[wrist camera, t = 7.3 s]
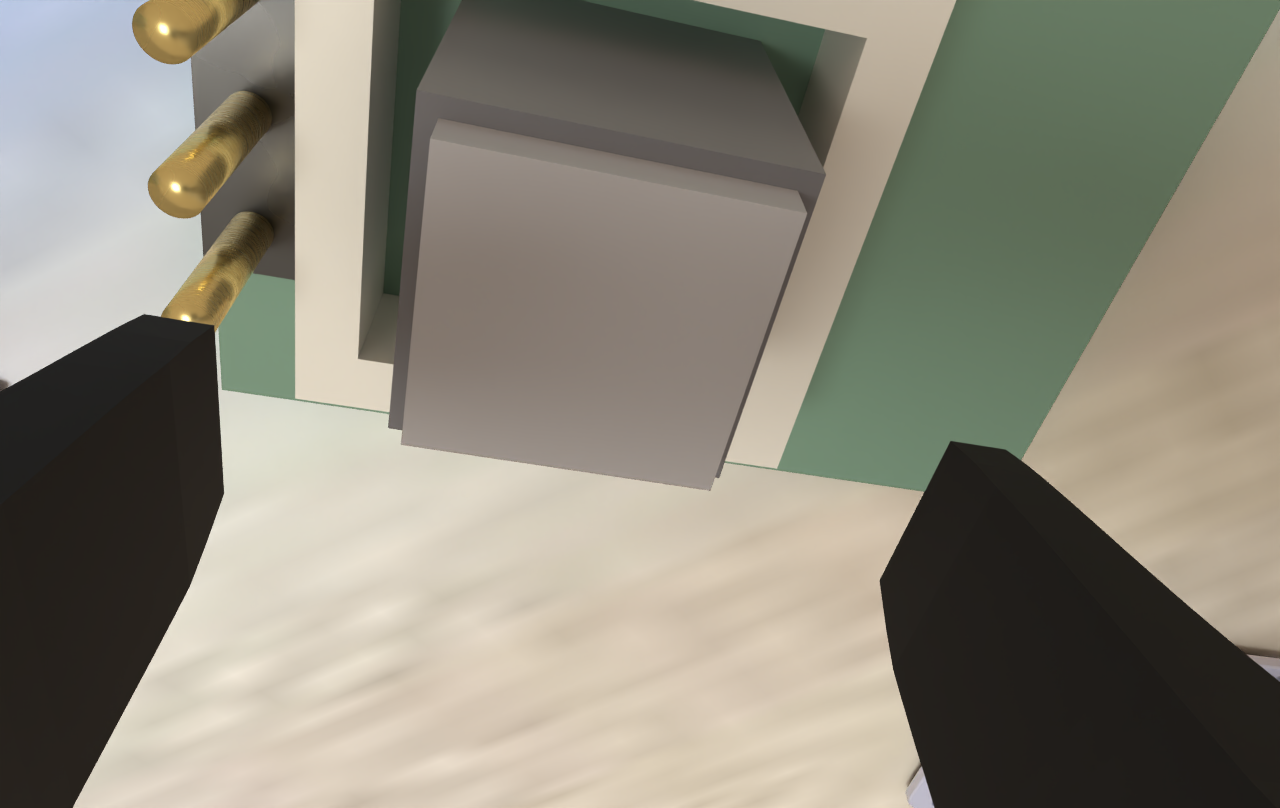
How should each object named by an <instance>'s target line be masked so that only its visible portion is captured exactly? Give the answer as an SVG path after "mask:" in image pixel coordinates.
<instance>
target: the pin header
mask: <svg viewBox="0 0 1280 808" xmlns="http://www.w3.org/2000/svg"><path fill="white" fill-rule="evenodd" d="M132 28H133V33H134V36H135V38H136V40H137V42H138V44H139V45H140V47H141V48H142V49H143V50H144V51H145V52H146V53H147V54H148V55H149V56H151V57H152V58H154V59H155V60H157V61H160V62H162V63H166V64H179V63H182V62H185V61H186V60H188V59H189V58H190V57H191V68H192V83H193V99H194V115H195V131H194V132H193V133H192V134H191V135H190V136H189V137H188V138H187V139H186V140H185V141H184V142H183V143H182V144H181V145H180V146H179V147H178V148H177V149H176V150H175V151H174V152H173V153H172V154H171V155H170V156H169V157H168V158H167V159H166V160H165V161H164V162H163V163H162V164H161V165H160V166H159V167H158V168H157V169H156V170H155V171H154V172H153V174H152V175H151V176H150V178H149V181H148V191H149V194H150V197H151V199H152V200H153V202H154V203H155V205H156V206H157V207H158V208H159V209H161V210H162V211H163V212H165V213H167V214H168V215H171V216H173V217H177V218H191V217H194V216H196V215H198V214H199V213H200V212H201V224H202V240H203V256H204V257H203V259H202V260H201V261H200V263H199V264H198V265H197V267H196V268H195V269H194V271H193V272H192V273H191V275H190V276H189V277H188V279H187V280H186V281H185V283H184V284H183V285H182V287H181V288H180V289H179V291H178V292H177V294H176V295H175V296H174V298H173V299H172V300H171V302H170V303H169V304H168V306H167V307H166V308H165V310H164V311H163V313H162V315H161V317H165V318H171V319H177V320H184V321H190V322H196V323H203V324H209V325H214V329H215V331H216V330H217V328H218V327H219V325H220V324H221V322H222V320H223V319H224V317H225V316H226V314H227V313H228V311H229V309H230V308H231V306H232V305H233V303H234V301H235V300H236V298H237V297H238V295H239V294H240V292H241V290H242V289H243V287H244V286H245V284H246V283H247V281H248V279H249V278H250V276H251V275H252V273H253V274H260V275H266V276H272V277H278V278H284V279H290V280H295V0H149V1H148V2H146V3H144V4H143V5H141V6H140V7H139V8H138V9H137V10H136V12H135V14H134V16H133V21H132Z"/></svg>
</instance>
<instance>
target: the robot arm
mask: <svg viewBox="0 0 1280 808" xmlns="http://www.w3.org/2000/svg"><path fill="white" fill-rule="evenodd" d="M223 495H224V485H223V468H222V450H221V433H220V416H219V398H218V381H217V364H216V346H215V329H214V325H209V324H203V323H196V322H190V321H184V320H177V319H171V318H165V317H158V316H152V315H145V314H144V315H142V316H140V317H138V318H135V319H133V320H131V321H129V322H127V323H125V324H123V325H121V326H119V327H117V328H116V329H114V330H112V331H110V332H108V333H106V334H104V335H102V336H101V337H99V338H97V339H95V340H93V341H92V342H90V343H88V344H86V345H84V346H82V347H81V348H79V349H77V350H75V351H73V352H72V353H70V354H68V355H66V356H64V357H63V358H61V359H59V360H57V361H55V362H54V363H52V364H50V365H48V366H46V367H45V368H43V369H41V370H39V371H37V372H36V373H34V374H32V375H30V376H28V377H27V378H25V379H23V380H21V381H19V382H17V383H16V384H14V385H12V386H10V387H8V388H6V389H4V390H3V391H1V392H0V808H73V806H74V804H75V802H76V800H77V798H78V796H79V794H80V793H81V791H82V789H83V787H84V785H85V783H86V781H87V779H88V778H89V776H90V774H91V772H92V770H93V768H94V766H95V764H96V763H97V761H98V759H99V757H100V755H101V753H102V751H103V750H104V748H105V746H106V744H107V742H108V740H109V738H110V736H111V735H112V733H113V731H114V729H115V727H116V725H117V723H118V721H119V720H120V718H121V716H122V714H123V712H124V710H125V708H126V706H127V705H128V703H129V701H130V699H131V697H132V695H133V693H134V692H135V690H136V688H137V686H138V684H139V682H140V680H141V678H142V677H143V675H144V673H145V671H146V669H147V667H148V665H149V663H150V662H151V660H152V658H153V656H154V654H155V652H156V650H157V648H158V646H159V644H160V643H161V641H162V639H163V637H164V635H165V633H166V631H167V629H168V627H169V625H170V624H171V622H172V620H173V618H174V616H175V614H176V612H177V610H178V608H179V606H180V604H181V602H182V600H183V598H184V597H185V595H186V593H187V591H188V589H189V587H190V584H191V582H192V579H193V577H194V574H195V571H196V569H197V566H198V564H199V561H200V558H201V556H202V553H203V551H204V548H205V545H206V543H207V540H208V537H209V534H210V531H211V529H212V526H213V523H214V520H215V517H216V515H217V512H218V509H219V506H220V503H221V501H222V498H223ZM880 586H881V594H882V601H883V609H884V616H885V623H886V630H887V636H888V642H889V648H890V653H891V659H892V665H893V670H894V674H895V677H896V681H897V685H898V688H899V692H900V695H901V699H902V702H903V705H904V709H905V712H906V715H907V719H908V722H909V726H910V729H911V732H912V736H913V739H914V743H915V746H916V749H917V752H918V756H919V759H920V762H921V767H920V769H919V771H918V772H917V774H916V775H915V777H914V778H913V780H912V781H911V783H910V784H909V786H908V787H907V789H906V796H907V799H908V802H909V805H911V806H912V807H914V808H1280V658H1272V657H1264V656H1256V655H1248V654H1245V653H1244V652H1243V651H1241V650H1240V649H1239V648H1238V647H1236V646H1235V645H1234V644H1233V643H1232V642H1230V641H1229V640H1228V639H1227V638H1226V637H1224V636H1223V635H1222V634H1221V633H1220V632H1218V631H1217V630H1216V629H1215V628H1214V627H1213V626H1211V625H1210V624H1209V623H1208V622H1207V621H1205V620H1204V619H1203V618H1202V617H1201V616H1200V615H1198V614H1197V613H1196V612H1195V611H1194V610H1192V609H1191V608H1190V607H1189V606H1188V605H1187V604H1186V603H1184V602H1183V601H1182V600H1181V599H1180V598H1179V597H1177V596H1176V595H1175V594H1174V593H1173V592H1172V591H1171V590H1169V589H1168V588H1167V587H1166V586H1165V585H1164V584H1163V583H1161V582H1160V581H1159V580H1158V579H1157V578H1156V577H1155V576H1154V575H1152V574H1151V573H1150V572H1149V571H1148V570H1147V569H1146V568H1144V567H1143V566H1142V565H1141V564H1140V563H1139V562H1138V561H1137V560H1135V559H1134V558H1133V557H1132V556H1131V555H1130V554H1129V553H1128V552H1126V551H1125V550H1124V549H1123V548H1122V547H1121V546H1120V545H1119V544H1117V543H1116V542H1115V541H1114V540H1113V539H1112V538H1111V537H1110V536H1108V535H1107V534H1106V533H1105V532H1104V531H1103V530H1102V529H1101V528H1099V527H1098V526H1097V525H1096V524H1095V523H1094V522H1093V521H1092V520H1090V519H1089V518H1088V517H1087V516H1086V515H1085V514H1084V513H1083V512H1081V511H1080V510H1079V509H1078V508H1077V507H1076V506H1075V505H1074V504H1072V503H1071V502H1070V501H1069V500H1068V499H1067V498H1066V497H1064V496H1063V495H1062V494H1061V493H1060V492H1059V491H1057V490H1056V489H1055V488H1054V487H1053V486H1052V485H1050V484H1049V483H1048V482H1047V481H1046V480H1045V479H1043V478H1042V477H1041V476H1040V475H1039V474H1037V473H1036V472H1035V471H1034V470H1032V469H1031V468H1030V467H1029V466H1027V465H1026V464H1025V463H1024V462H1022V461H1021V460H1020V459H1018V458H1017V457H1015V456H1014V455H1013V454H1011V453H1010V452H1009V451H1007V450H1006V449H1000V448H993V447H987V446H980V445H974V444H968V443H961V442H955V441H950V443H949V445H948V447H947V449H946V451H945V453H944V455H943V457H942V459H941V460H940V462H939V464H938V466H937V468H936V470H935V472H934V474H933V476H932V478H931V480H930V482H929V484H928V486H927V488H926V490H925V492H924V494H923V496H922V498H921V500H920V502H919V504H918V506H917V508H916V510H915V512H914V514H913V516H912V518H911V520H910V522H909V524H908V526H907V528H906V530H905V531H904V533H903V535H902V537H901V539H900V541H899V543H898V545H897V547H896V549H895V551H894V553H893V555H892V557H891V559H890V561H889V563H888V565H887V567H886V569H885V571H884V573H883V575H882V577H881V579H880Z"/></svg>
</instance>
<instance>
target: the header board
mask: <svg viewBox="0 0 1280 808" xmlns="http://www.w3.org/2000/svg"><path fill="white" fill-rule="evenodd" d="M461 1H462V0H401V6H400V23H399V39H398V56H397V73H396V89H395V106H394V122H393V139H392V155H391V172H390V189H389V205H388V222H387V238H386V255H385V272H384V288H383V293H385V294H391V295H397V296H399V293H400V281H401V269H402V257H403V246H404V234H405V222H406V210H407V198H408V186H409V174H410V162H411V150H412V138H413V127H414V115H415V103H416V91H417V88H418V86H419V84H420V82H421V80H422V78H423V76H424V74H425V72H426V70H427V68H428V66H429V64H430V62H431V60H432V58H433V56H434V54H435V52H436V50H437V48H438V46H439V45H440V43H441V41H442V39H443V37H444V35H445V33H446V31H447V29H448V27H449V25H450V23H451V21H452V19H453V17H454V15H455V13H456V11H457V9H458V7H459V5H460V3H461ZM582 1H586V2H591V3H595V4H599V5H604V6H608V7H613V8H617V9H621V10H626V11H630V12H635V13H639V14H644V15H648V16H652V17H657V18H661V19H666V20H670V21H674V22H679V23H683V24H688V25H692V26H697V27H701V28H705V29H710V30H714V31H719V32H723V33H727V34H732V35H736V36H741V37H745V38H750V39H754V40H758V41H761V43H762V45H763V47H764V49H765V51H766V53H767V55H768V57H769V59H770V61H771V64H772V66H773V68H774V70H775V72H776V74H777V76H778V78H779V80H780V82H781V84H782V86H783V88H784V90H785V92H786V94H787V96H788V98H789V100H790V102H791V104H792V106H793V108H794V110H795V112H796V114H797V116H798V115H799V112H800V109H801V106H802V102H803V99H804V96H805V93H806V90H807V86H808V83H809V80H810V77H811V74H812V70H813V67H814V64H815V61H816V58H817V54H818V51H819V48H820V45H821V41H822V38H823V35H824V32H825V29H822V28H818V27H813V26H809V25H804V24H800V23H795V22H790V21H786V20H781V19H777V18H772V17H768V16H763V15H758V14H754V13H749V12H745V11H740V10H736V9H731V8H726V7H722V6H717V5H713V4H708V3H704V2H699V1H694V0H582ZM1279 9H1280V0H956V3H955V5H954V8H953V10H952V13H951V16H950V18H949V21H948V23H947V26H946V29H945V31H944V34H943V37H942V39H941V42H940V44H939V47H938V50H937V52H936V55H935V57H934V60H933V63H932V65H931V68H930V70H929V73H928V76H927V78H926V81H925V84H924V86H923V89H922V91H921V94H920V97H919V99H918V102H917V104H916V107H915V110H914V112H913V115H912V117H911V120H910V123H909V125H908V128H907V131H906V133H905V136H904V138H903V141H902V144H901V146H900V149H899V151H898V154H897V157H896V159H895V162H894V164H893V167H892V170H891V172H890V175H889V178H888V180H887V183H886V185H885V188H884V191H883V193H882V196H881V198H880V201H879V204H878V206H877V209H876V211H875V214H874V217H873V219H872V222H871V225H870V227H869V230H868V232H867V235H866V238H865V240H864V243H863V245H862V248H861V251H860V253H859V256H858V259H857V261H856V264H855V266H854V269H853V272H852V274H851V277H850V279H849V282H848V285H847V287H846V290H845V292H844V295H843V298H842V300H841V303H840V306H839V308H838V311H837V313H836V316H835V319H834V321H833V324H832V326H831V329H830V332H829V334H828V337H827V339H826V342H825V345H824V347H823V350H822V353H821V355H820V358H819V360H818V363H817V366H816V368H815V371H814V373H813V376H812V379H811V381H810V384H809V386H808V389H807V392H806V394H805V397H804V400H803V402H802V405H801V407H800V410H799V413H798V415H797V418H796V420H795V423H794V426H793V428H792V431H791V433H790V436H789V439H788V441H787V444H786V447H785V449H784V452H783V454H782V457H781V460H780V462H779V465H778V467H777V469H776V468H769V467H762V466H755V465H748V464H742V463H735V462H728V461H725V463H731V464H737V465H744V466H751V467H758V468H765V469H772V470H779V471H786V472H793V473H799V474H806V475H813V476H820V477H827V478H834V479H841V480H848V481H855V482H861V483H868V484H875V485H882V486H889V487H896V488H903V489H910V490H917V491H923V492H925V490H926V488H927V486H928V484H929V482H930V480H931V478H932V476H933V474H934V472H935V470H936V468H937V466H938V464H939V462H940V460H941V459H942V457H943V455H944V453H945V451H946V449H947V447H948V445H949V443H950V441H955V442H961V443H968V444H974V445H980V446H987V447H993V448H1000V449H1006V450H1007V451H1009V452H1010V453H1011V454H1013V455H1014V456H1015V457H1017V458H1018V459H1020V460H1021V459H1022V457H1023V456H1024V454H1025V452H1026V451H1027V449H1028V447H1029V445H1030V444H1031V442H1032V440H1033V438H1034V437H1035V435H1036V433H1037V431H1038V430H1039V428H1040V426H1041V424H1042V423H1043V421H1044V419H1045V417H1046V416H1047V414H1048V412H1049V410H1050V409H1051V407H1052V405H1053V403H1054V402H1055V400H1056V398H1057V396H1058V395H1059V393H1060V391H1061V389H1062V388H1063V386H1064V384H1065V383H1066V381H1067V379H1068V377H1069V376H1070V374H1071V372H1072V370H1073V369H1074V367H1075V365H1076V363H1077V362H1078V360H1079V358H1080V356H1081V355H1082V353H1083V351H1084V349H1085V348H1086V346H1087V344H1088V342H1089V341H1090V339H1091V337H1092V335H1093V334H1094V332H1095V330H1096V328H1097V327H1098V325H1099V323H1100V322H1101V320H1102V318H1103V316H1104V315H1105V313H1106V311H1107V309H1108V308H1109V306H1110V304H1111V302H1112V301H1113V299H1114V297H1115V295H1116V294H1117V292H1118V290H1119V288H1120V287H1121V285H1122V283H1123V281H1124V280H1125V278H1126V276H1127V274H1128V273H1129V271H1130V269H1131V267H1132V266H1133V264H1134V262H1135V260H1136V259H1137V257H1138V255H1139V254H1140V252H1141V250H1142V248H1143V247H1144V245H1145V243H1146V241H1147V240H1148V238H1149V236H1150V234H1151V233H1152V231H1153V229H1154V227H1155V226H1156V224H1157V222H1158V220H1159V219H1160V217H1161V215H1162V213H1163V212H1164V210H1165V208H1166V206H1167V205H1168V203H1169V201H1170V199H1171V198H1172V196H1173V194H1174V192H1175V191H1176V189H1177V187H1178V186H1179V184H1180V182H1181V180H1182V179H1183V177H1184V175H1185V173H1186V172H1187V170H1188V168H1189V166H1190V165H1191V163H1192V161H1193V159H1194V158H1195V156H1196V154H1197V152H1198V151H1199V149H1200V147H1201V145H1202V144H1203V142H1204V140H1205V138H1206V137H1207V135H1208V133H1209V131H1210V130H1211V128H1212V126H1213V124H1214V123H1215V121H1216V119H1217V118H1218V116H1219V114H1220V112H1221V111H1222V109H1223V107H1224V105H1225V104H1226V102H1227V100H1228V98H1229V97H1230V95H1231V93H1232V91H1233V90H1234V88H1235V86H1236V84H1237V83H1238V81H1239V79H1240V77H1241V76H1242V74H1243V72H1244V70H1245V69H1246V67H1247V65H1248V63H1249V62H1250V60H1251V58H1252V57H1253V55H1254V53H1255V51H1256V50H1257V48H1258V46H1259V44H1260V43H1261V41H1262V39H1263V37H1264V36H1265V34H1266V32H1267V30H1268V29H1269V27H1270V25H1271V23H1272V22H1273V20H1274V18H1275V16H1276V15H1277V13H1278V11H1279ZM218 328H219V346H220V363H221V381H222V390H228V391H235V392H242V393H249V394H255V395H262V396H269V397H276V398H283V399H290V400H297V401H304V402H311V403H317V404H324V405H331V406H338V407H345V408H352V409H359V410H366V411H373V412H379V413H386V414H389V412H384V411H377V410H370V409H363V408H357V407H350V406H343V405H336V404H329V403H322V402H315V401H308V400H302V399H295V280H290V279H284V278H278V277H272V276H266V275H260V274H253V273H252V275H251V276H250V278H249V279H248V281H247V283H246V284H245V286H244V287H243V289H242V290H241V292H240V294H239V295H238V297H237V298H236V300H235V301H234V303H233V305H232V306H231V308H230V309H229V311H228V313H227V314H226V316H225V317H224V319H223V320H222V322H221V324H220V325H219V327H218Z"/></svg>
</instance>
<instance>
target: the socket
mask: <svg viewBox="0 0 1280 808" xmlns="http://www.w3.org/2000/svg"><path fill="white" fill-rule="evenodd" d="M694 1H699V2H704V3H708V4H713V5H717V6H722V7H726V8H731V9H736V10H740V11H745V12H749V13H754V14H758V15H763V16H768V17H772V18H777V19H781V20H786V21H790V22H795V23H800V24H804V25H809V26H813V27H818V28H822V29H825V32H824V35H823V38H822V41H821V45H820V48H819V51H818V54H817V58H816V61H815V64H814V67H813V70H812V74H811V77H810V80H809V83H808V86H807V90H806V93H805V96H804V99H803V102H802V106H801V109H800V112H799V115H798V118H799V120H800V122H801V124H802V126H803V128H804V130H805V132H806V134H807V136H808V138H809V140H810V142H811V145H812V147H813V149H814V151H815V153H816V155H817V157H818V159H819V161H820V163H821V165H822V167H823V169H824V171H825V173H826V177H825V179H824V182H823V185H822V188H821V191H820V194H819V196H818V199H817V202H816V205H815V208H814V211H813V213H812V216H811V219H810V222H809V225H808V228H807V230H806V233H805V236H804V239H803V242H802V245H801V247H800V250H799V253H798V256H797V259H796V262H795V264H794V267H793V270H792V273H791V276H790V279H789V281H788V284H787V287H786V290H785V293H784V296H783V298H782V301H781V304H780V307H779V310H778V312H777V315H776V318H775V321H774V324H773V327H772V329H771V332H770V335H769V338H768V341H767V344H766V346H765V349H764V352H763V355H762V358H761V361H760V363H759V366H758V369H757V372H756V375H755V378H754V380H753V383H752V386H751V389H750V392H749V395H748V397H747V400H746V403H745V406H744V409H743V412H742V414H741V417H740V420H739V423H738V426H737V429H736V431H735V434H734V437H733V440H732V443H731V446H730V448H729V451H728V454H727V457H726V460H725V461H728V462H735V463H742V464H748V465H755V466H762V467H769V468H776V469H777V467H778V465H779V462H780V460H781V457H782V454H783V452H784V449H785V447H786V444H787V441H788V439H789V436H790V433H791V431H792V428H793V426H794V423H795V420H796V418H797V415H798V413H799V410H800V407H801V405H802V402H803V400H804V397H805V394H806V392H807V389H808V386H809V384H810V381H811V379H812V376H813V373H814V371H815V368H816V366H817V363H818V360H819V358H820V355H821V353H822V350H823V347H824V345H825V342H826V339H827V337H828V334H829V332H830V329H831V326H832V324H833V321H834V319H835V316H836V313H837V311H838V308H839V306H840V303H841V300H842V298H843V295H844V292H845V290H846V287H847V285H848V282H849V279H850V277H851V274H852V272H853V269H854V266H855V264H856V261H857V259H858V256H859V253H860V251H861V248H862V245H863V243H864V240H865V238H866V235H867V232H868V230H869V227H870V225H871V222H872V219H873V217H874V214H875V211H876V209H877V206H878V204H879V201H880V198H881V196H882V193H883V191H884V188H885V185H886V183H887V180H888V178H889V175H890V172H891V170H892V167H893V164H894V162H895V159H896V157H897V154H898V151H899V149H900V146H901V144H902V141H903V138H904V136H905V133H906V131H907V128H908V125H909V123H910V120H911V117H912V115H913V112H914V110H915V107H916V104H917V102H918V99H919V97H920V94H921V91H922V89H923V86H924V84H925V81H926V78H927V76H928V73H929V70H930V68H931V65H932V63H933V60H934V57H935V55H936V52H937V50H938V47H939V44H940V42H941V39H942V37H943V34H944V31H945V29H946V26H947V23H948V21H949V18H950V16H951V13H952V10H953V8H954V5H955V3H956V0H694ZM400 6H401V0H295V399H302V400H308V401H315V402H322V403H329V404H336V405H343V406H350V407H357V408H363V409H370V410H377V411H384V412H390V400H391V388H392V377H393V365H394V353H395V341H396V329H397V317H398V305H399V296H397V295H391V294H385V293H383V288H384V272H385V255H386V238H387V222H388V205H389V189H390V172H391V155H392V139H393V122H394V106H395V89H396V73H397V56H398V39H399V23H400Z"/></svg>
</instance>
